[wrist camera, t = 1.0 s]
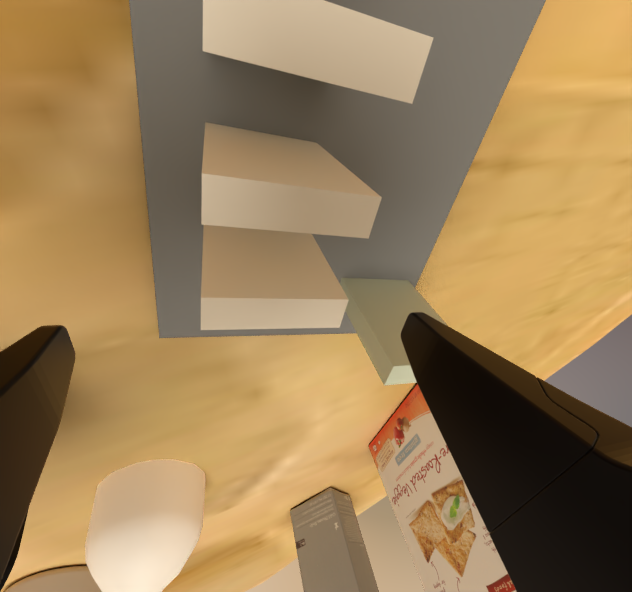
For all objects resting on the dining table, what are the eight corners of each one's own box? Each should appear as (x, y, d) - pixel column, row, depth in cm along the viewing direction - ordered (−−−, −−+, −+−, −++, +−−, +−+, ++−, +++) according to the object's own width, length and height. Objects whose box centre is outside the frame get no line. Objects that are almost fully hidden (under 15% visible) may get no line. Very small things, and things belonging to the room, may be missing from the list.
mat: (392, 328, 30) (394, 332, 30) (160, 333, 24) (159, 338, 23) (566, -61, 16) (574, -64, 16) (104, -318, 9) (99, -335, 9)
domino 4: (401, 295, 27) (466, 378, 20) (336, 294, 25) (384, 385, 18) (408, 280, 26) (478, 360, 19) (341, 277, 24) (393, 366, 18)
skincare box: (330, 485, 48) (371, 631, 36) (352, 494, 53) (394, 627, 40) (286, 510, 49) (310, 660, 37) (310, 517, 54) (339, 653, 42)
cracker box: (416, 377, 37) (578, 632, 20) (454, 379, 39) (625, 608, 23) (364, 446, 43) (454, 678, 27) (399, 444, 46) (501, 655, 30)
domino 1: (327, 82, 17) (412, 103, 10) (206, 52, 15) (202, 51, 8) (335, 44, 16) (433, 37, 9) (206, 6, 14) (203, -41, 7)
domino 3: (297, 239, 22) (339, 327, 15) (203, 232, 20) (200, 330, 13) (302, 217, 21) (348, 299, 14) (204, 207, 19) (200, 297, 12)
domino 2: (310, 171, 19) (368, 238, 12) (204, 155, 17) (201, 224, 10) (316, 142, 18) (381, 197, 11) (205, 122, 16) (201, 173, 9)
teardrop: (225, 476, 39) (230, 608, 30) (152, 516, 40) (135, 655, 31) (155, 446, 32) (134, 606, 23) (69, 495, 33) (15, 667, 24)
